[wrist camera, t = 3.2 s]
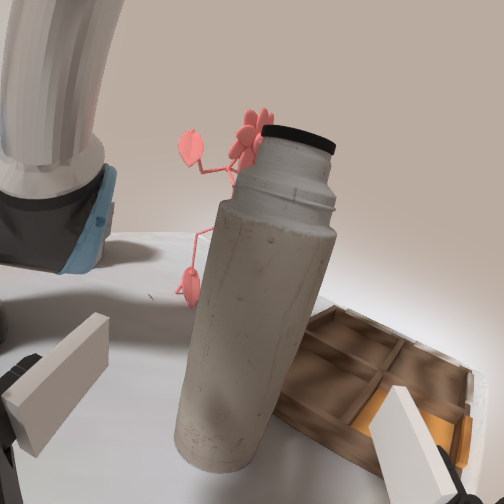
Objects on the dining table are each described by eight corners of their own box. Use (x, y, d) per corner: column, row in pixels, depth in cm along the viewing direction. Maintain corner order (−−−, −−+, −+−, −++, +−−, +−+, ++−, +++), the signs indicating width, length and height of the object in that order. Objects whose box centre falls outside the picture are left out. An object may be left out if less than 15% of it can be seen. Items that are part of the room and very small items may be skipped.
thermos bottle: (253, 421, 31) (340, 152, 23) (255, 479, 23) (381, 148, 16) (180, 407, 30) (242, 124, 23) (167, 464, 22) (239, 106, 15)
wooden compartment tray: (222, 377, 37) (229, 350, 36) (328, 320, 62) (335, 301, 61) (440, 504, 20) (464, 481, 19) (463, 386, 44) (474, 367, 43)
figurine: (135, 299, 50) (182, 83, 41) (229, 277, 71) (272, 123, 62) (200, 348, 42) (269, 87, 33) (286, 307, 64) (340, 138, 55)
